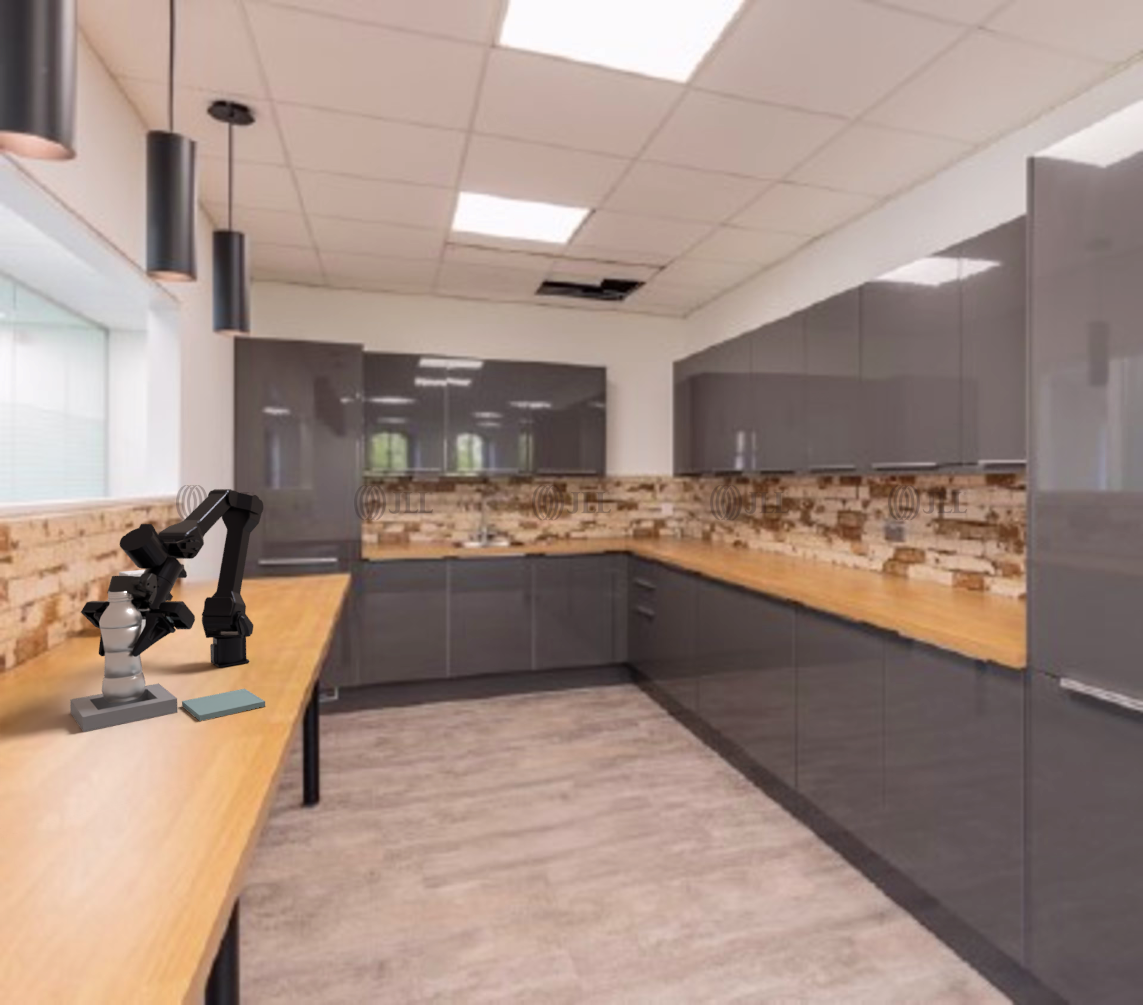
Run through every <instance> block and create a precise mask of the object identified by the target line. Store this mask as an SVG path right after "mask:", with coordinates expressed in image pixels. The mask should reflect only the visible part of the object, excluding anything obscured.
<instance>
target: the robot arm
mask: <svg viewBox="0 0 1143 1005" xmlns="http://www.w3.org/2000/svg"><path fill="white" fill-rule="evenodd" d="M263 511H264V502H263V501H262V499H260V497H259V496H258V495H257V494H247V493H242V492H239V491H236V490H233V489H232V488H227V489H226V488H224V489H222V488H220V489H219V488H218V489H217V488H215V489H213V490H210V491H209V492H208V495H207V497H205V499H204V500H203V501H201V502H200V504H199V505H197V507H196V508H194V509H193V510H192V512H191V513H189V514H188V516H186V518H185V519H183V520H182V521H180V522H177V523H175V524H171V525H170V526H169V525H168V526H167V527H166V528H165V529H163V530H161V531H159V533H158V532H157V530H156V529H155V527H154V525H153V523H141V524H140V525H139V526H138V528H135V529H133V530H130V531H129V532H127V533H126V534H125V535H122V537H121V538H120V541H119V548H120V549H121V550H122V551H123V552H124V553H125V554H126V556H128V558H129V559H130V560H131V561H132V563H133V564H134V565H135V566H136V567H137V568H138V569H140V570H145V571H144V573H143V574H142V575H141V576H119V575H112V576H111V578H110V581H109V585H108V589H107V594H108V591H110V592H123V591H127V593H131V594H133V600H131V601H132V604H133V605H134V606H135V607H136V608H137V609H138V610H139V612H140V613H141V615H142V620H146V622H145V627H144V629H143V631H142V633H141V635H140V636H139V638H138V640H137V642H136V644H135V646H134V649H133V652H132V655H133V656H134V657H137V656H138V655H140V656H141V654H142V653H143V652H145V651H146V650H148V649H149V648H150V647H152V646H153V645H155V644H156V643H157V642H159V641H161V640H162V639H163V638H165V637H166V636H168V635H169V634H172V633H173V634H174V633H175V632H176V630H191V629H192V627H193V626H194V623H195V620H196V616H195V614H194V612H192V610H191V609H190V608H189V607H188V605H187V604H186V603H185V602H184V601H182V600H178V601H177V600H176V601H175V600H173V597H174V595H173V594H172V593H171V591H172V589H173V588H174V585H175V584H176V582H177V580H178V579H186V578H187V576H188V573H187V570H186V569H185V565H184V564H183V563H181V562H180V561H179V560H181V559H182V560H183V559H185V560H187V559H188V560H189V559H191V560H192V559H194V558H195V557H197V555H198V554H199V553H200V551H201V549H202V548H203V547H204V544H205V542H204V536H205V535H206V534H207V533H208V532H209V531H210V530H211V528H212V527H213V526H214V525H215V524H216V523H217V522H218V521H219V520H220V519H221V520H222V522H223V525H224V526H225V528H226V535H225V541H224V547H223V552H222V558H221V564H220V568H219V576H218V582H217V587H216V591H215V592H214V593H213V595H212V596H211V597H210V596H207V597H206V598H205V599H204V604H203V605H204V606H203V610H202V613H201V623H202V627H203V631H204V635H205V638H206V639H209V638H212V643H210V663H211V664H213V665H214V666H216V667H218V668H225V667H230V666H236V665H242V664H248V663H250V660H249V659H247V658H248V657H247V638H249V637H251V635H253V631H254V624H253V622H252V621H251V619H250V618H249V617H248V615H247V614H246V610H247V606H246V603H245V601H244V599H243V596H242V595H241V591H242V587H243V586H242V584H243V578H244V574H245V566H246V562H247V561H246V560H247V556H248V547H249V543H250V542H249V541H250V535H251V533H252V532H253V531H254V529H255V528H256V527H257V526H258V525H259V524H260V521H261V518H262V514H263ZM172 600H173V601H172ZM109 604H110V602H108V600H91V601H86V603H85V605H84V606H83V607H82V609H81V611H80V613H81V615H83V616H84V618H86V619H87V620H88V621H89V622H90V623H91V624H92V625H93V627H94V628H97V629H100V625H99V621H100V618H101V616H102V614H103V613H104V611H105V610H106V609H107V607H108V606H109ZM104 653H105V651H104V645H103V639H102V635H101V634H100V636H99V647H98V655H99V656H100V657H105V655H104Z"/></svg>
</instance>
